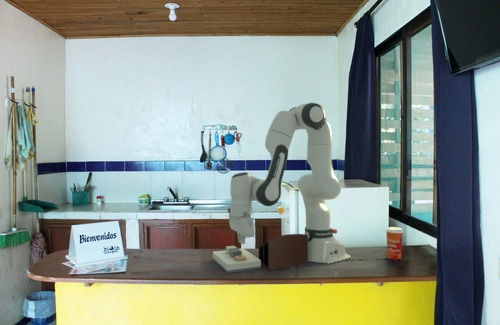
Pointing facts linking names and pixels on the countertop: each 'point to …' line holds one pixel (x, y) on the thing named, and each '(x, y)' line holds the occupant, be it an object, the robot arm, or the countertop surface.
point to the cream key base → (234, 266)
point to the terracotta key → (240, 258)
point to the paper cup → (394, 242)
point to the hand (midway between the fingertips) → (241, 243)
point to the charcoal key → (235, 252)
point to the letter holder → (284, 251)
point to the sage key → (229, 249)
